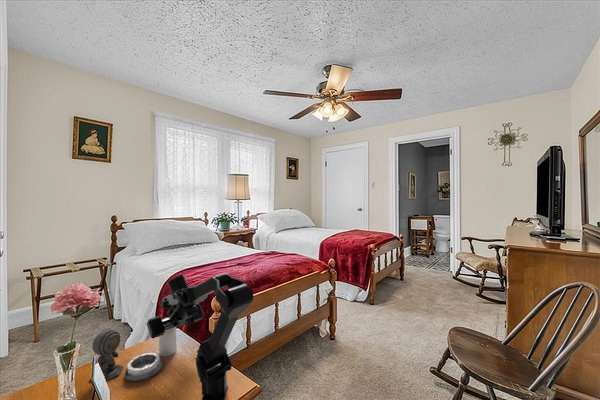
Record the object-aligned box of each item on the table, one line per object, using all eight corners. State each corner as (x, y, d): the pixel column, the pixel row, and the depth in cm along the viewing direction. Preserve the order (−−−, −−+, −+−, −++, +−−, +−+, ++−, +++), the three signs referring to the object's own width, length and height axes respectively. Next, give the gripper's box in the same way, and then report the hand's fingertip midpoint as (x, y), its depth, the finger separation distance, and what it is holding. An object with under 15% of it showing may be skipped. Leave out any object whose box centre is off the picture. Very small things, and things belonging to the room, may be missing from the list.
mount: (167, 360, 100) (166, 350, 99) (153, 381, 89) (153, 370, 88) (135, 361, 99) (135, 352, 99) (118, 383, 88) (117, 372, 88)
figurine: (107, 385, 87) (106, 339, 86) (82, 380, 89) (80, 336, 88) (129, 367, 95) (128, 326, 95) (105, 364, 97) (104, 323, 97)
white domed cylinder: (179, 346, 108) (178, 317, 107) (173, 356, 102) (172, 324, 101) (163, 347, 108) (162, 317, 107) (156, 357, 101) (155, 325, 101)
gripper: (199, 282, 106) (186, 302, 113) (147, 297, 92) (136, 319, 99) (210, 308, 101) (196, 327, 109) (158, 328, 87) (145, 348, 94)
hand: (170, 329), depth 103 cm, fingers open, 9 cm apart
